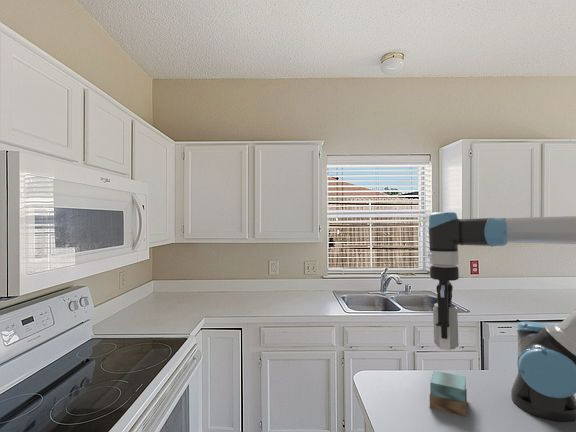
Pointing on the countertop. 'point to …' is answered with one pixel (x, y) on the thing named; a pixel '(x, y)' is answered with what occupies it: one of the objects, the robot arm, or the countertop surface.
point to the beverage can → (452, 323)
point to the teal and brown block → (448, 393)
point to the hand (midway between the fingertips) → (446, 345)
